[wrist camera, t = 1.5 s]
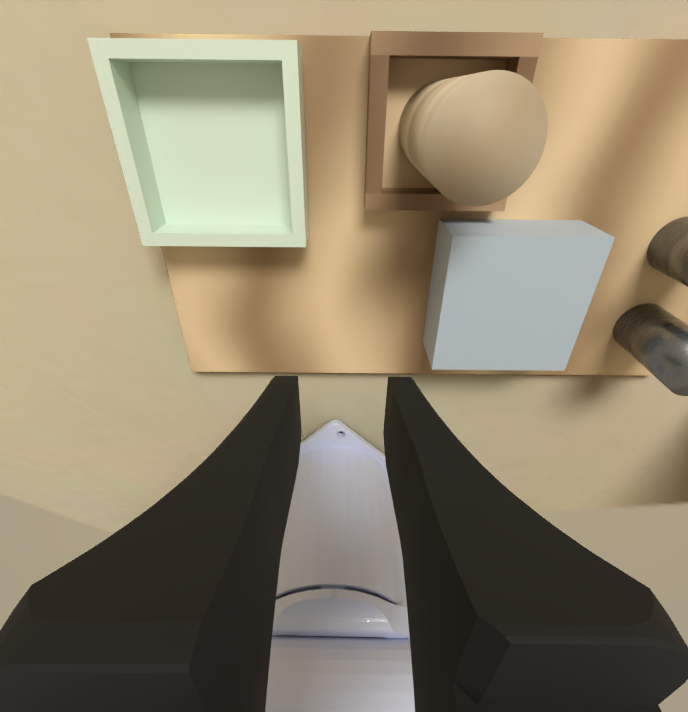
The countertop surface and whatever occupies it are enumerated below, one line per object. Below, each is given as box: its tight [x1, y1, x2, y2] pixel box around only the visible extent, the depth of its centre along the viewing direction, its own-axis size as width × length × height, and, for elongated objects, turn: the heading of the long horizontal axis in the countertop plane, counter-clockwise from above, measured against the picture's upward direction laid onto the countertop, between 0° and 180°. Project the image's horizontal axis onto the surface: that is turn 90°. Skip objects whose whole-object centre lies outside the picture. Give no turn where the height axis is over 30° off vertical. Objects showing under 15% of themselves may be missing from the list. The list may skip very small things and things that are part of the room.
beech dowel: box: [398, 70, 548, 207], centre depth 12 cm, size 3×3×6 cm
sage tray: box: [87, 38, 309, 247], centre depth 15 cm, size 6×6×2 cm
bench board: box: [110, 31, 688, 376], centre depth 17 cm, size 25×14×2 cm, turn 89°
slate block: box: [423, 219, 615, 371], centre depth 17 cm, size 6×6×2 cm
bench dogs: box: [613, 216, 688, 396], centre depth 17 cm, size 2×6×4 cm, turn 0°
